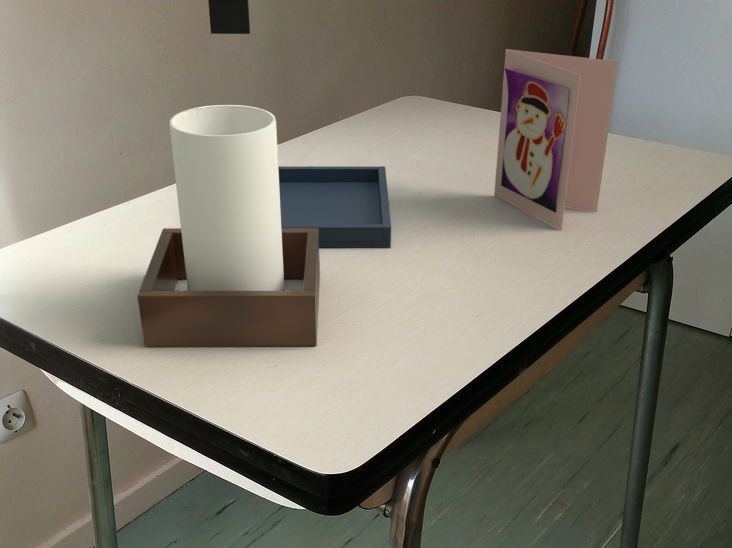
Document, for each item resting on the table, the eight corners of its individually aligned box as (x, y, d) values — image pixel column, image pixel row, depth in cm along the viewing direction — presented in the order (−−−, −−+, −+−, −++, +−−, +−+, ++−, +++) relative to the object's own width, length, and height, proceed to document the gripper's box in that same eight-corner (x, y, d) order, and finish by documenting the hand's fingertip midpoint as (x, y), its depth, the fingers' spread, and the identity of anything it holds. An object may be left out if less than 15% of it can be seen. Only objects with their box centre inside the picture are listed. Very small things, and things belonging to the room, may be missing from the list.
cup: (225, 339, 83) (208, 143, 73) (172, 305, 88) (148, 117, 78) (304, 310, 87) (297, 121, 78) (248, 280, 92) (236, 98, 83)
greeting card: (487, 196, 110) (498, 50, 101) (541, 184, 113) (556, 41, 104) (554, 231, 102) (573, 76, 93) (610, 217, 105) (633, 66, 96)
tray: (210, 247, 98) (208, 227, 97) (227, 185, 112) (225, 166, 111) (390, 247, 98) (391, 227, 97) (384, 185, 113) (385, 166, 111)
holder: (144, 347, 82) (137, 296, 79) (168, 274, 93) (162, 227, 90) (316, 346, 82) (315, 295, 79) (319, 274, 93) (318, 227, 91)
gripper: (263, -371, 54) (280, 52, 67) (281, -339, 74) (291, -19, 86) (122, -374, 54) (166, 51, 66) (178, -341, 73) (204, -19, 86)
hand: (237, 13), depth 76 cm, fingers open, 13 cm apart
